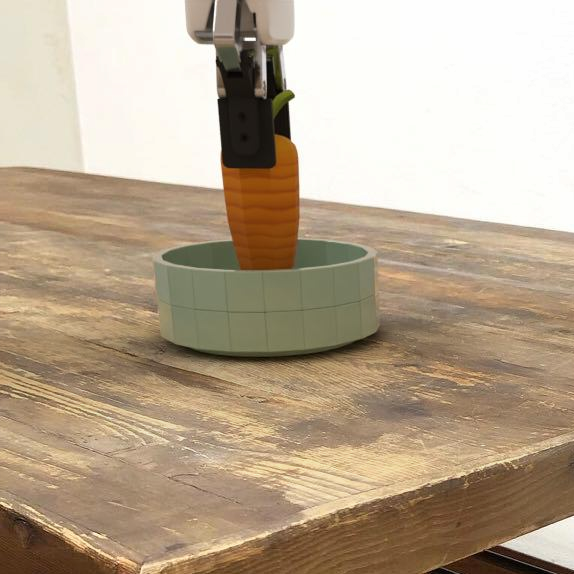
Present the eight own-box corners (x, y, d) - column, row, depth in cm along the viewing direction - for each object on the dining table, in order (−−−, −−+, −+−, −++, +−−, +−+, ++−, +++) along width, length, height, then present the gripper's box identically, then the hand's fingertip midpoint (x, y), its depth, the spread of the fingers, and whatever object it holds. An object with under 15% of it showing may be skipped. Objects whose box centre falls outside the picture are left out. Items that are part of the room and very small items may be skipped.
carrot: (257, 305, 85) (240, 71, 79) (322, 310, 83) (309, 72, 78) (217, 318, 80) (196, 72, 75) (284, 324, 79) (268, 73, 73)
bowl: (134, 361, 76) (123, 270, 74) (191, 314, 89) (184, 236, 87) (366, 362, 76) (362, 272, 74) (389, 316, 89) (386, 238, 87)
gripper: (205, -144, 79) (228, 153, 86) (127, -191, 64) (163, 176, 70) (322, -142, 79) (336, 154, 86) (273, -189, 64) (295, 177, 70)
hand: (258, 160), depth 78 cm, fingers closed on carrot, 4 cm apart
